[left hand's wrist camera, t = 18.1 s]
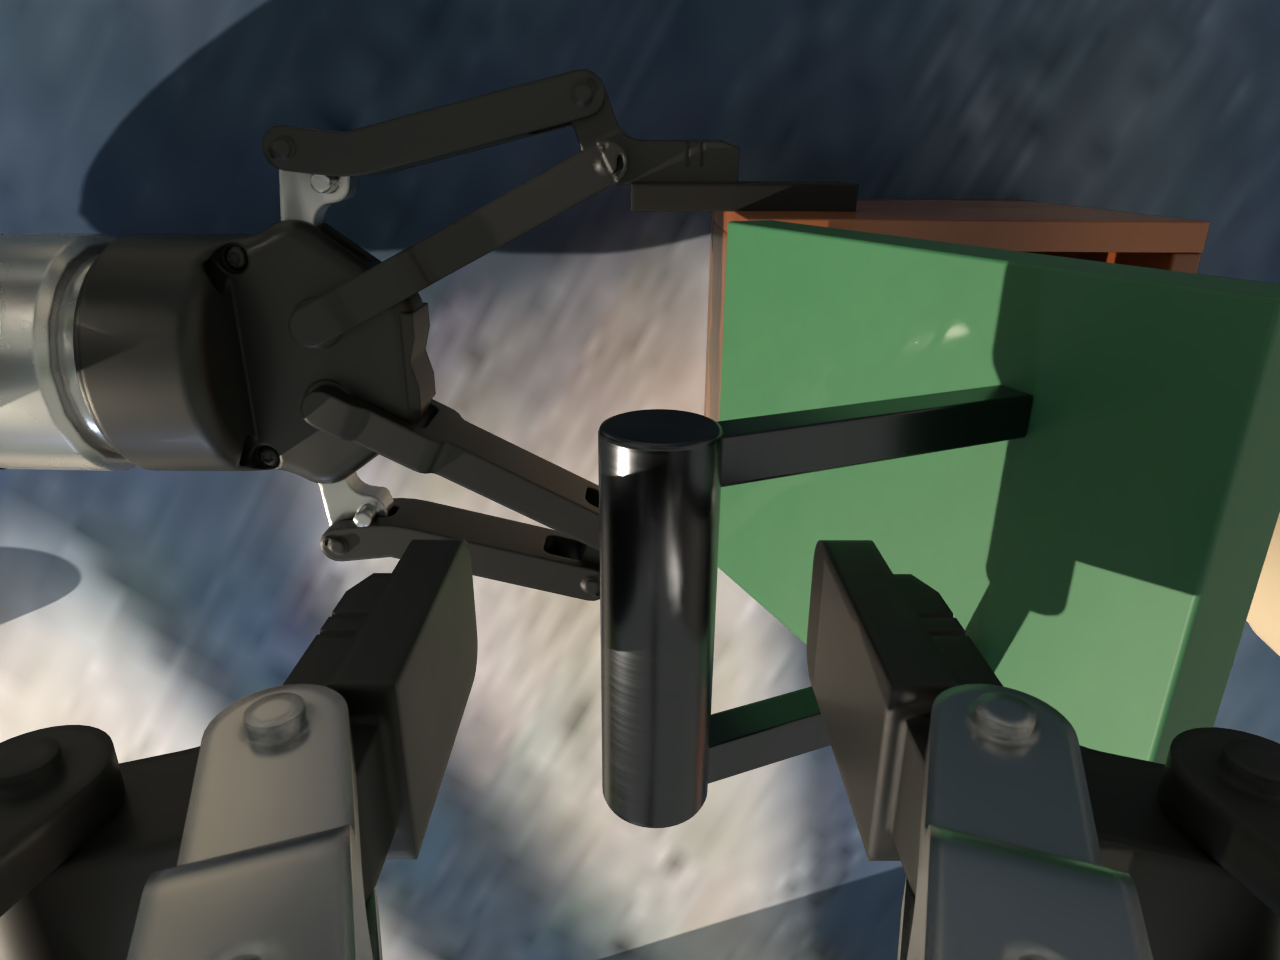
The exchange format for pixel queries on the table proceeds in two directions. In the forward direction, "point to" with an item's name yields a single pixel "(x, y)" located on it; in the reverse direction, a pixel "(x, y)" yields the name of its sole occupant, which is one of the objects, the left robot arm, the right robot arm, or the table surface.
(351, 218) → the table surface
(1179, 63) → the table surface
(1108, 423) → the lid
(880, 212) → the chest
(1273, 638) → the coffee cup
